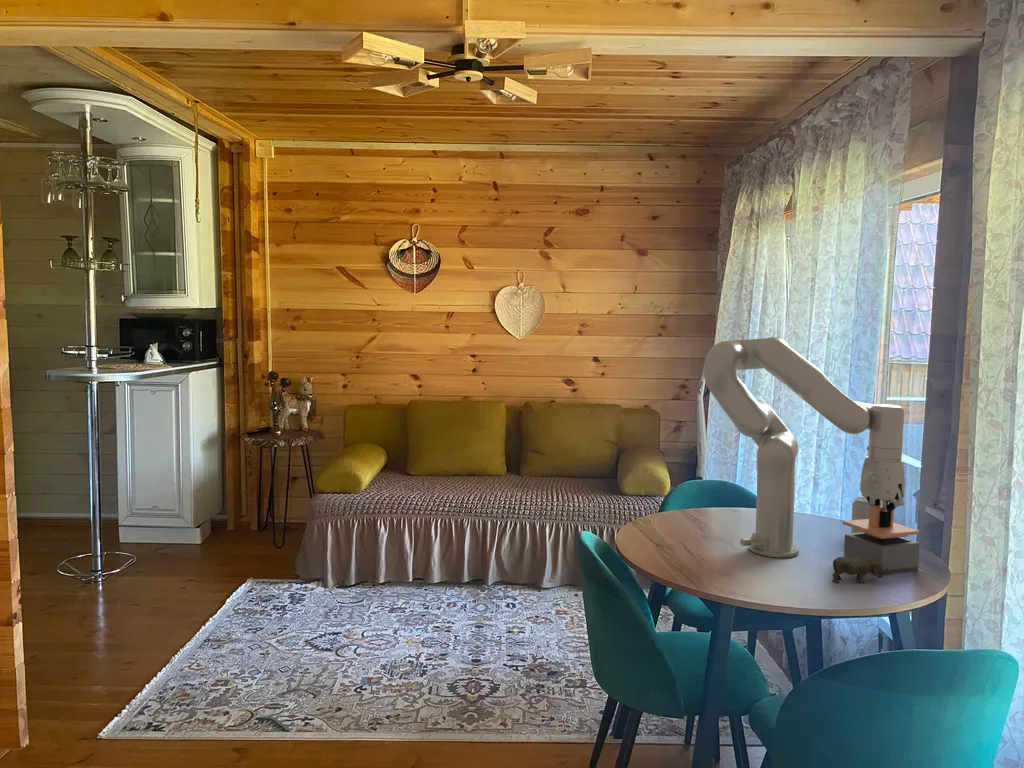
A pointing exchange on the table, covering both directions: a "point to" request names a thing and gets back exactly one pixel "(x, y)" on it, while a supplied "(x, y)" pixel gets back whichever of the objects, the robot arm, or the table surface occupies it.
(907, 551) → the tub
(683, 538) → the table surface
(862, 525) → the lid
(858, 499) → the can
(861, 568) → the rhino figurine
